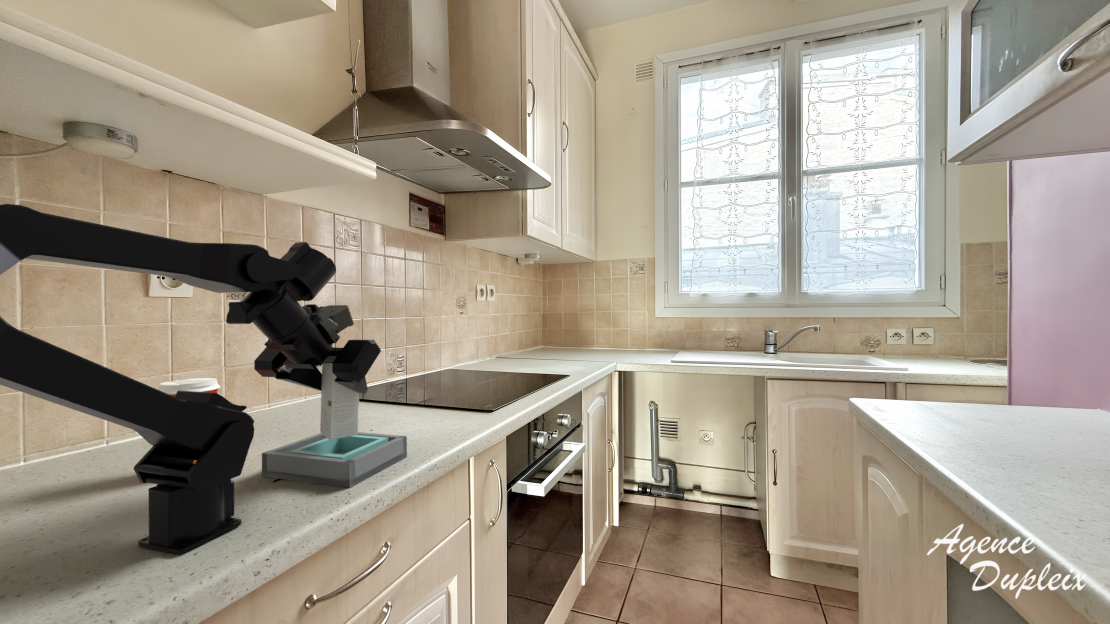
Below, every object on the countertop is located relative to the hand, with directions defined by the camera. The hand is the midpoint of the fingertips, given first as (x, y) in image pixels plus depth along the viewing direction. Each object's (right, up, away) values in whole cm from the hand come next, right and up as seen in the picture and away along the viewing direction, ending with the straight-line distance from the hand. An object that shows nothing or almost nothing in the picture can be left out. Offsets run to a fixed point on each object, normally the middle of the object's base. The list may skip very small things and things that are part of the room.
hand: (346, 391), depth 68 cm
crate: (-1, -12, -1) cm, 12 cm away
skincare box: (0, -7, -1) cm, 7 cm away
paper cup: (-23, -12, -2) cm, 27 cm away
